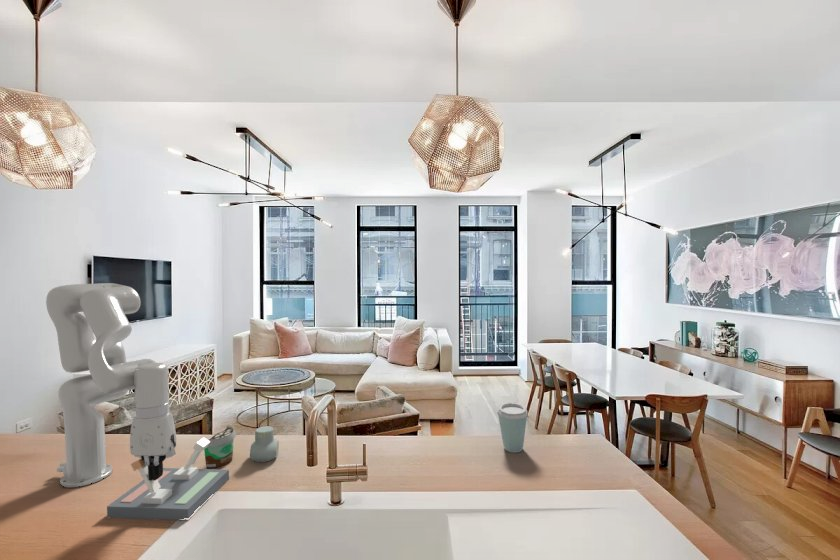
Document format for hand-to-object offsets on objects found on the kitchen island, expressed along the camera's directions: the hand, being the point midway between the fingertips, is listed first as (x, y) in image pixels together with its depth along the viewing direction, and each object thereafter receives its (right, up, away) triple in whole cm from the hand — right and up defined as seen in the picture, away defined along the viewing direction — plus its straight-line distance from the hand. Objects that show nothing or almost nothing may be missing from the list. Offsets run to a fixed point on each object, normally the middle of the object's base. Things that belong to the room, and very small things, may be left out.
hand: (155, 477), depth 110 cm
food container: (+6, -8, +26) cm, 28 cm away
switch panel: (+1, -9, +6) cm, 11 cm away
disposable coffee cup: (+104, -7, +35) cm, 110 cm away
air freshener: (+18, -8, +29) cm, 35 cm away
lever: (+1, -4, +12) cm, 13 cm away
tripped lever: (0, -4, 0) cm, 4 cm away
